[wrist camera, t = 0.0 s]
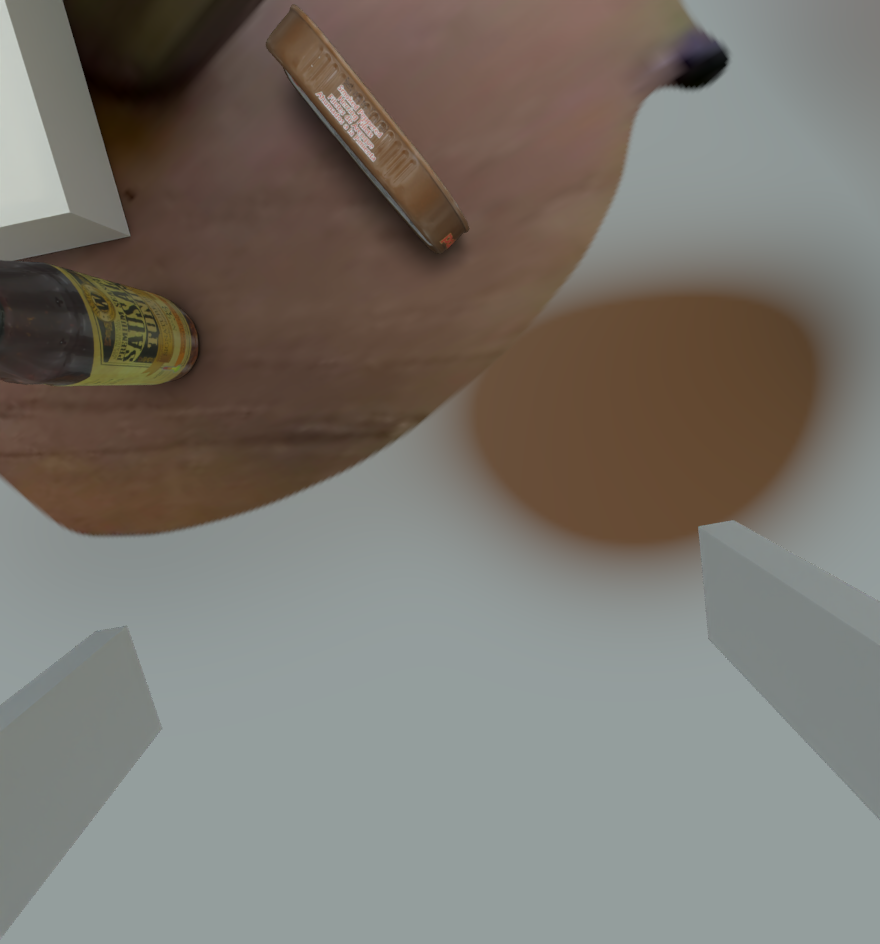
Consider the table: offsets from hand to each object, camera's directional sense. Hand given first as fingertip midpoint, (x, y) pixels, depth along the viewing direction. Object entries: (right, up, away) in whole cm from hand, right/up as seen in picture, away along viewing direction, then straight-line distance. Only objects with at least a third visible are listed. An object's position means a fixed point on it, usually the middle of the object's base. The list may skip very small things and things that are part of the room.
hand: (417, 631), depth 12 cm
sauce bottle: (-20, +13, +26) cm, 35 cm away
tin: (-4, +24, +24) cm, 34 cm away
